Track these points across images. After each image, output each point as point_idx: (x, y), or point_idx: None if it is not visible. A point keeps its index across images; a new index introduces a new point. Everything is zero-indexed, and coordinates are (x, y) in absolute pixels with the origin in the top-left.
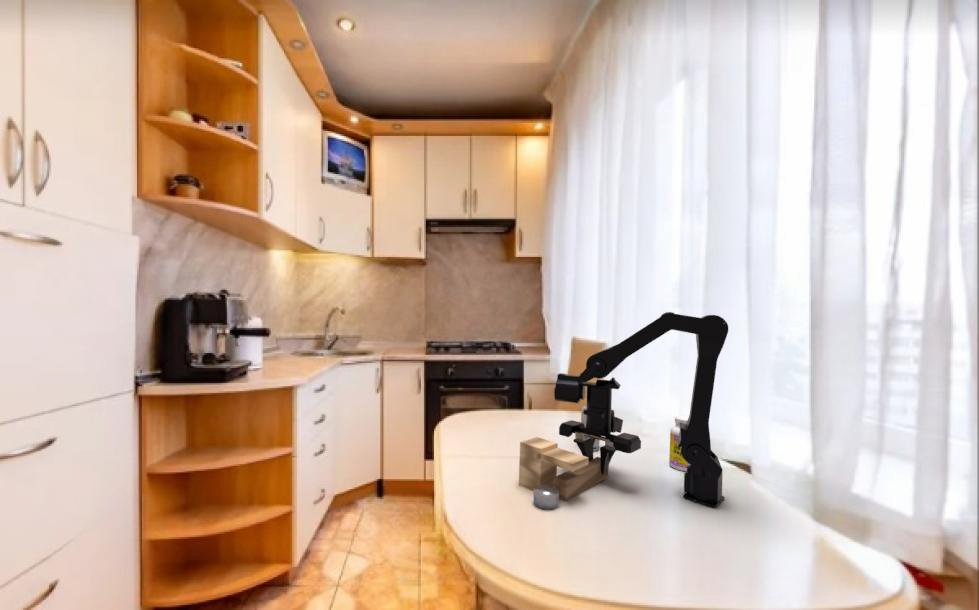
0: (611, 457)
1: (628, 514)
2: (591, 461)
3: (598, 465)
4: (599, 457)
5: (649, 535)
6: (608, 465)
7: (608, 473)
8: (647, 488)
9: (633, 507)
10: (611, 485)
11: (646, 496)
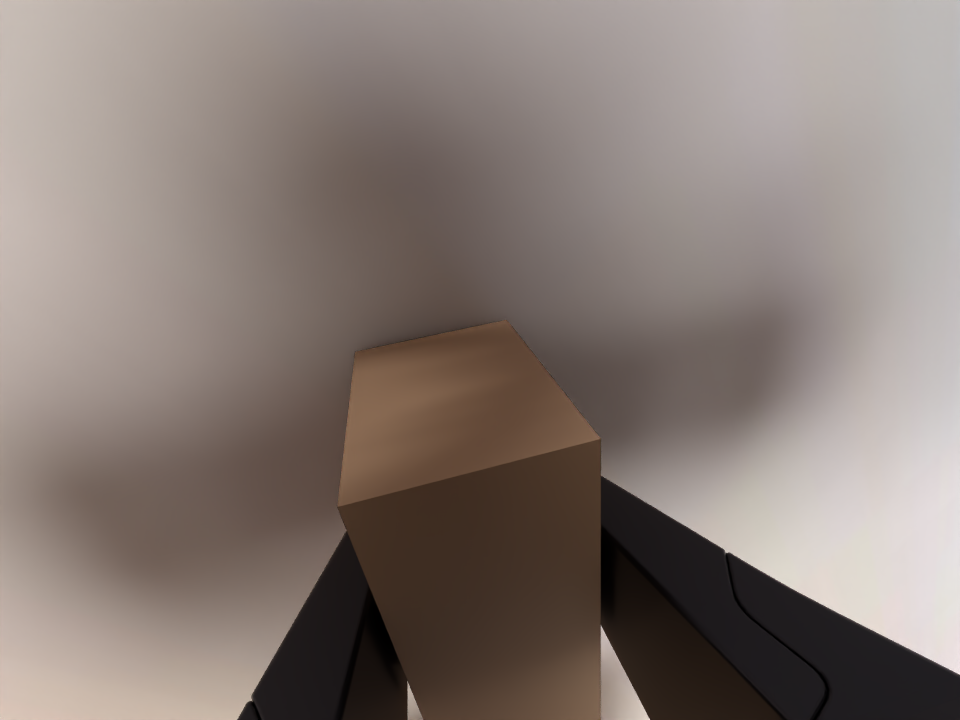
0: (797, 611)
1: (825, 580)
2: (458, 684)
3: (597, 661)
4: (398, 503)
5: (915, 606)
6: (642, 503)
7: (518, 336)
8: (882, 172)
9: (833, 518)
10: (615, 419)
11: (885, 334)
